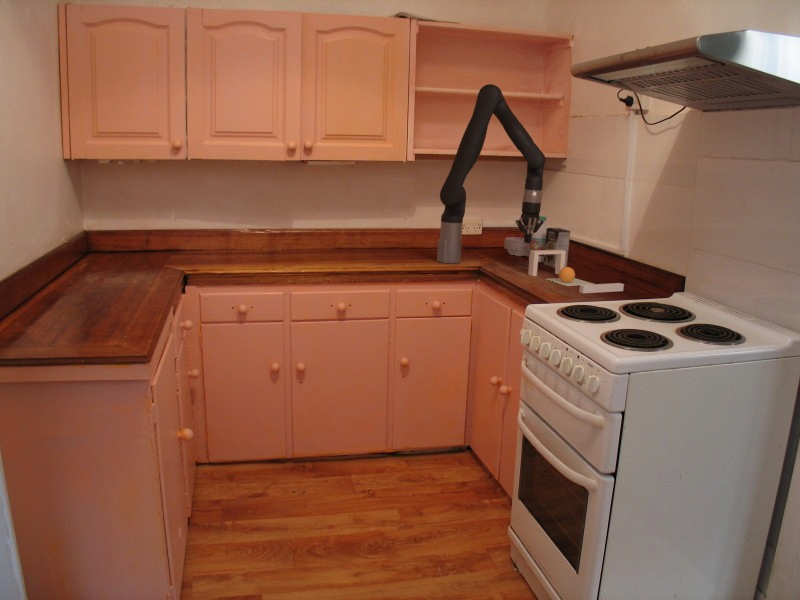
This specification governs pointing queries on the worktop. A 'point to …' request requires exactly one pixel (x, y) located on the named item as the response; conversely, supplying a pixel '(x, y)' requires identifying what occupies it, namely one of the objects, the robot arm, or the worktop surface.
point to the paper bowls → (517, 246)
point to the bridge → (535, 253)
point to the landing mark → (572, 283)
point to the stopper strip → (601, 288)
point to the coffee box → (556, 245)
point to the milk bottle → (539, 240)
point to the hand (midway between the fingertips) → (527, 242)
